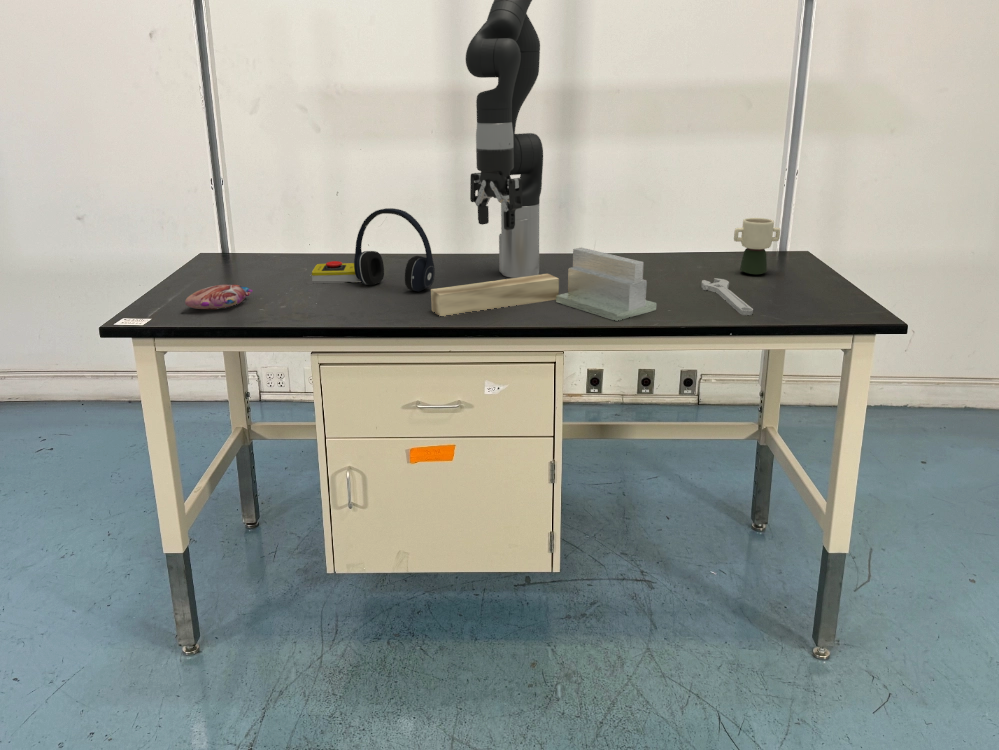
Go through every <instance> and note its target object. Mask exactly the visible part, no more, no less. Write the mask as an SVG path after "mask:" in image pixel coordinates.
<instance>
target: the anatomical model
mask: <svg viewBox="0 0 999 750" xmlns="http://www.w3.org/2000/svg"><path fill="white" fill-rule="evenodd" d="M252 292H253V289H250V288H249V287H247V286H241V285H239V284H217V285H213V286H212V285H211V286H208V287H206V288H201V289H199V290H196V291H195V292H193V293H192V294H190V295H188V296H187V297H186V299H185V301H184V304H185V306H187V307H189V308H192V309H198V310H218V309H217V308H224V309H226V308H225V307H229V308H231V307H230V306H232V307H234V306H233V305H235V306H237V305H239V304H241V303H243V302H244V300H245V299H246V297H249V296H250V295H251V293H252ZM236 304H237V305H236Z"/></svg>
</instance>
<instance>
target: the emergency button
mask: <svg viewBox="0 0 999 750" xmlns="http://www.w3.org/2000/svg"><path fill="white" fill-rule="evenodd" d="M311 275H312V281H360V279H358V278H357V277H356V274H355V270H354V262H350V263H347V262H346V263H345V262H342V261H339V260H337V261H335V260H333V261H327V262H326V263H318V264H316V265H315V266H314V268H313V269H312V271H311Z"/></svg>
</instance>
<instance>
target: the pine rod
mask: <svg viewBox="0 0 999 750" xmlns="http://www.w3.org/2000/svg"><path fill="white" fill-rule="evenodd" d="M559 291H560V278H558V277H556V276H554V275H552V274H550V273H542V274H538V275H534V276H526V277H519V278H512V277H510V278H506V279H498V280H491V281H483V282H476V283H469V284H468V283H467V284H461V285H452V286H446V287H438V288H431V289H430V299H431V312H433V313H434V312H435V313H434V314H436V316H438V315H439V316H438V317H440V316H444V317H447V316H446V315H451V316H454V315H453V314H457V315H460V314H459V313H464V314H466V313H465V312H471V313H473V312H472V311H477V312H481V311H480V310H484V311H488V310H487V309H491V310H495V309H494V308H497V309H502V308H501V307H504V308H509V307H508V306H510V307H515V306H516V305H517V306H523V305H528V304H529V305H530V304H535V303H537V304H538V303H542V302H543V303H544V302H549V301H556V295H560V293H559Z"/></svg>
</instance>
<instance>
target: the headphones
mask: <svg viewBox="0 0 999 750" xmlns="http://www.w3.org/2000/svg"><path fill="white" fill-rule="evenodd" d="M383 214H384V215H385V214H386V215H387V214H389V215H390V214H391V215H396V216H397V217H398V216H399V217H401V218H403V219H404V220H405V221H407V222H408V223H409V224H410V225H411V226H412V227H413V228H414V229H415V231H416V232H417V233H418V235H419V237H420V239H421V240H422V243H423V247H424V250H425V251H424V252H425V256H420V255H415V256H413V257H411V258H409V259H408V261H407V263H406V265H405V266H406V267H405V269H404V284H405V287H406V288H407V289H409V290H411V291H415V292H422V291H424V290H425V289H428V288H429V289H430V287H432V286H433V283H434V281H435V275H436V274H435V273H436V272H435V271H436V268H435V263H434V259H433V253H432V248H431V247H432V246H431V244H430V241H429V239H428V236H427V234H426V232H425V230H424V229H423V227H422V225H421V224H420V223H419V221H417V219H416V218H415V217H413V215H412V214H410V213H408V212H407V211H405V210H403V209H399V208H391V207H390V208H382V209H381V208H380V209H377V210H374V211H373V212H371V213H370V214H369V215H368V216H366V218H365V219H364V220H363V222H362V224H361V226H360V227H359V230H358V232H357V237H356V242H355V248H354V249H355V251H354V259H353V260H354V261H353V263H354V270H355V274H356V277H357V278H358V279H360V281H361V282H362V283H361V284H363V285H366V286H371V285H377V284H379V283H381V282H382V280H384V277H385V266H384V261H383V258H382V255H381V254H380V253H379V252H378V251H375V250H365V251H362V246H363V245H362V242H363V238H364V234H365V231H366V229H367V227H368V226H369V224H370V223H371V222H372V221H373V220H374V219H375V218H377V217H378V216H380V215H383Z"/></svg>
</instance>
